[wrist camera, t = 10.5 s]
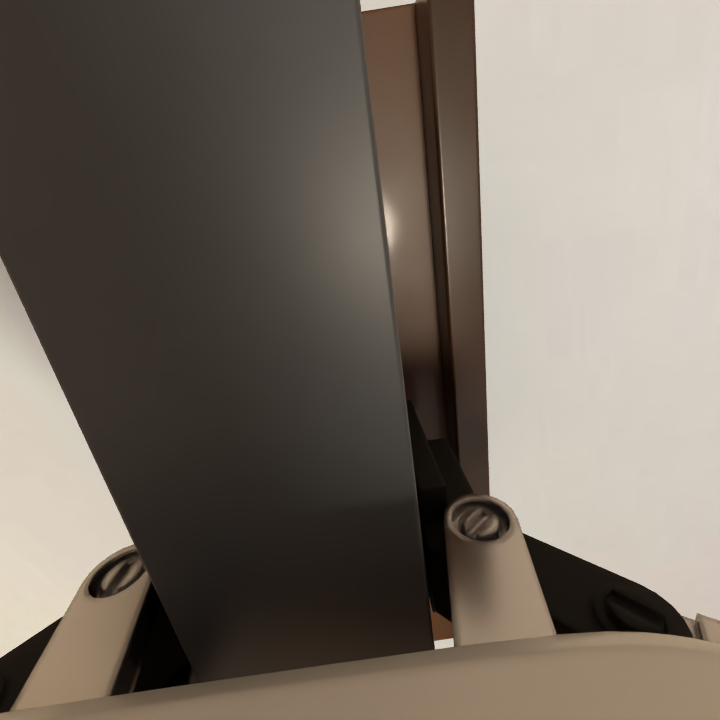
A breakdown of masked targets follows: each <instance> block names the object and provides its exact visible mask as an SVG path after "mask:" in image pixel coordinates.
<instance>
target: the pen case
mask: <svg viewBox="0 0 720 720" xmlns="http://www.w3.org/2000/svg"><path fill="white" fill-rule="evenodd" d="M0 256H1V259H2V261H3V263H4V265H5V267H6V269H7V272H8V274H9V276H10V278H11V280H12V282H13V284H14V287H15V289H16V291H17V293H18V295H19V297H20V300H21V302H22V304H23V306H24V308H25V310H26V312H27V315H28V317H29V319H30V321H31V323H32V325H33V327H34V330H35V332H36V334H37V336H38V338H39V340H40V343H41V345H42V347H43V349H44V351H45V353H46V355H47V358H48V360H49V362H50V364H51V366H52V368H53V370H54V373H55V375H56V377H57V379H58V381H59V383H60V386H61V388H62V390H63V392H64V394H65V396H66V398H67V401H68V403H69V405H70V407H71V409H72V411H73V413H74V416H75V418H76V420H77V422H78V424H79V426H80V429H81V431H82V433H83V435H84V437H85V439H86V441H87V444H88V446H89V448H90V450H91V452H92V454H93V456H94V459H95V461H96V463H97V465H98V467H99V469H100V472H101V474H102V476H103V478H104V480H105V482H106V484H107V487H108V489H109V491H110V493H111V495H112V497H113V499H114V502H115V504H116V506H117V508H118V510H119V512H120V515H121V517H122V519H123V521H124V523H125V525H126V527H127V530H128V532H129V534H130V536H131V538H132V540H133V542H134V545H135V547H136V549H137V551H138V553H139V555H140V558H141V560H142V562H143V564H144V566H145V568H146V570H147V573H148V575H149V577H150V579H151V581H152V583H153V586H154V588H155V590H156V592H157V594H158V596H159V598H160V601H161V603H162V605H163V607H164V609H165V611H166V613H167V616H168V618H169V620H170V622H171V624H172V626H173V629H174V631H175V633H176V635H177V637H178V639H179V641H180V644H181V646H182V648H183V650H184V652H185V654H186V656H187V659H188V661H189V663H190V665H191V667H192V669H193V672H194V674H195V676H196V678H197V680H198V682H199V683H203V682H210V681H217V680H223V679H230V678H237V677H244V676H251V675H258V674H265V673H272V672H279V671H286V670H293V669H300V668H307V667H314V666H321V665H328V664H335V663H342V662H349V661H357V660H364V659H371V658H378V657H386V656H393V655H400V654H407V653H414V652H422V651H429V650H435V646H434V638H433V629H432V620H431V612H430V603H429V594H428V586H427V577H426V568H425V560H424V551H423V542H422V534H421V525H420V516H419V508H418V499H417V490H416V482H415V473H414V464H413V456H412V447H411V438H410V430H409V421H408V412H407V404H406V395H405V386H404V378H403V369H402V360H401V352H400V343H399V334H398V326H397V317H396V308H395V300H394V291H393V282H392V274H391V265H390V256H389V248H388V239H387V230H386V222H385V213H384V204H383V196H382V187H381V178H380V170H379V161H378V152H377V144H376V135H375V126H374V118H373V109H372V100H371V92H370V83H369V74H368V66H367V57H366V48H365V40H364V31H363V22H362V14H361V5H360V0H0Z"/></svg>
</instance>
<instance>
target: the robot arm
mask: <svg viewBox="0 0 720 720" xmlns="http://www.w3.org/2000/svg"><path fill="white" fill-rule="evenodd" d="M406 404H407V412H408V421H409V430H410V438H411V447H412V456H413V464H414V473H415V482H416V490H417V499H418V508H419V516H420V525H421V534H422V542H423V551H424V560H425V568H426V577H427V586H428V594H429V598H430V603H431V607H432V611H433V612H437V613H438V614H440V615H441V616H443V617H444V618H446V619H447V620H449V621H450V622H451V623H452V626H453V638H454V647H451V648H443V649H436V650H429V651H422V652H414V653H407V654H400V655H393V656H386V657H378V658H371V659H364V660H357V661H349V662H342V663H335V664H328V665H321V666H314V667H307V668H300V669H293V670H286V671H279V672H272V673H265V674H258V675H251V676H244V677H237V678H230V679H223V680H217V681H210V682H203V683H199V682H198V680H197V678H196V676H195V674H194V672H193V669H192V667H191V665H190V663H189V661H188V659H187V656H186V654H185V652H184V650H183V648H182V646H181V644H180V641H179V639H178V637H177V635H176V633H175V631H174V629H173V626H172V624H171V622H170V620H169V618H168V616H167V613H166V611H165V609H164V607H163V605H162V603H161V601H160V598H159V596H158V594H157V592H156V590H155V588H154V586H153V583H152V581H151V579H150V577H149V575H148V573H147V570H146V568H145V566H144V564H143V562H142V560H141V558H140V555H139V553H138V551H137V549H136V547H135V545H131V546H128V547H126V548H123V549H121V550H119V551H117V552H116V553H114V554H112V555H110V556H109V557H107V558H106V559H105V560H103V561H102V562H101V563H99V564H98V565H97V566H96V567H95V568H94V569H93V570H92V571H91V572H90V573H89V574H88V576H87V577H86V579H85V580H84V581H83V583H82V584H81V586H80V588H79V590H78V591H77V593H76V595H75V597H74V599H73V600H72V602H71V604H70V606H69V607H68V609H67V611H66V613H65V614H64V616H63V617H61V618H60V619H58V620H57V621H55V622H54V623H52V624H51V625H49V626H48V627H46V628H45V629H43V630H42V631H40V632H39V633H37V634H36V635H34V636H33V637H31V638H30V639H28V640H27V641H25V642H24V643H22V644H21V645H19V646H18V647H16V648H15V649H13V650H12V651H10V652H9V653H7V654H6V655H4V656H3V657H1V658H0V720H720V621H719V620H716V619H713V618H710V617H707V616H704V615H701V614H697V615H696V620H693V619H690V618H687V617H684V616H681V615H680V614H679V613H678V612H677V611H676V609H675V608H674V607H673V606H672V605H671V604H669V603H668V602H667V601H666V600H664V599H663V598H662V597H660V596H659V595H658V594H657V593H655V592H653V591H651V590H649V589H647V588H646V587H644V586H642V585H640V584H638V583H636V582H633V581H631V580H629V579H626V578H624V577H622V576H619V575H617V574H615V573H613V572H610V571H608V570H606V569H603V568H601V567H599V566H597V565H594V564H592V563H590V562H587V561H585V560H583V559H581V558H578V557H576V556H574V555H571V554H569V553H567V552H565V551H562V550H560V549H558V548H555V547H553V546H551V545H549V544H546V543H544V542H542V541H539V540H537V539H535V538H533V537H530V536H528V535H526V534H523V533H522V530H521V527H520V524H519V521H518V518H517V517H516V515H515V513H514V511H513V510H512V509H511V508H510V507H509V506H508V505H507V504H506V503H504V502H502V501H501V500H499V499H497V498H494V497H491V496H488V495H483V494H474V492H473V490H472V488H471V486H470V484H469V482H468V480H467V478H466V476H465V474H464V472H463V470H462V468H461V466H460V464H459V462H458V460H457V458H456V457H455V455H454V453H453V451H452V449H451V447H450V445H449V443H448V441H447V439H446V438H440V439H433V440H427V438H426V436H425V433H424V431H423V429H422V426H421V424H420V421H419V419H418V416H417V414H416V411H415V409H414V406H413V404H412V402H411V400H406Z"/></svg>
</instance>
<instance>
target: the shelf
mask: <svg viewBox="0 0 720 720" xmlns="http://www.w3.org/2000/svg"><path fill="white" fill-rule="evenodd" d="M361 14H362V22H363V31H364V40H365V48H366V57H367V66H368V74H369V83H370V92H371V100H372V109H373V118H374V126H375V135H376V144H377V152H378V161H379V170H380V178H381V187H382V196H383V204H384V213H385V222H386V230H387V239H388V248H389V256H390V265H391V274H392V282H393V291H394V300H395V308H396V317H397V326H398V334H399V343H400V352H401V360H402V369H403V378H404V386H405V395H406V400H411V402H412V404H413V406H414V409H415V411H416V414H417V416H418V419H419V421H420V424H421V426H422V429H423V431H424V433H425V436H426V438H427V440H433V439H440V438H446V439H447V441H448V443H449V445H450V447H451V449H452V451H453V453H454V455H455V457H456V458H457V460H458V462H459V464H460V466H461V468H462V470H463V472H464V474H465V476H466V478H467V480H468V482H469V484H470V486H471V488H472V490H473V492H474V494H483V495H488V496H490V494H489V462H488V430H487V398H486V366H485V333H484V301H483V269H482V237H481V205H480V172H479V140H478V108H477V76H476V44H475V11H474V0H416V2H415V3H413V4H406V5H400V6H394V7H388V8H382V9H376V10H369V11H363V12H361ZM429 603H430V598H429ZM430 612H431V620H432V629H433V638H434V641H436V640H443V639H450V638H453V626H452V623H451V622H450V621H449V620H447V619H446V618H444V617H443V616H441V615H440V614H438V613H437V612H433V611H432V607H431V603H430Z"/></svg>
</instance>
